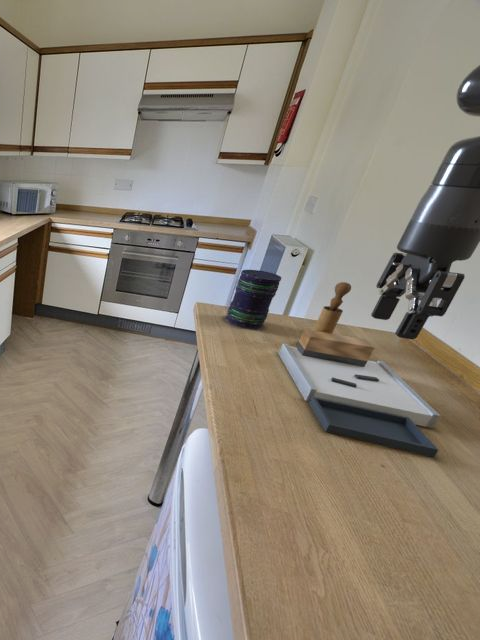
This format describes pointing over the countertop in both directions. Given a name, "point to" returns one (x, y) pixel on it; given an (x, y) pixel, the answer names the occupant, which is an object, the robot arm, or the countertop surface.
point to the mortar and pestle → (332, 310)
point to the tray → (372, 426)
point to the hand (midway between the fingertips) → (391, 327)
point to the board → (367, 394)
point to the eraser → (335, 347)
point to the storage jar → (252, 299)
